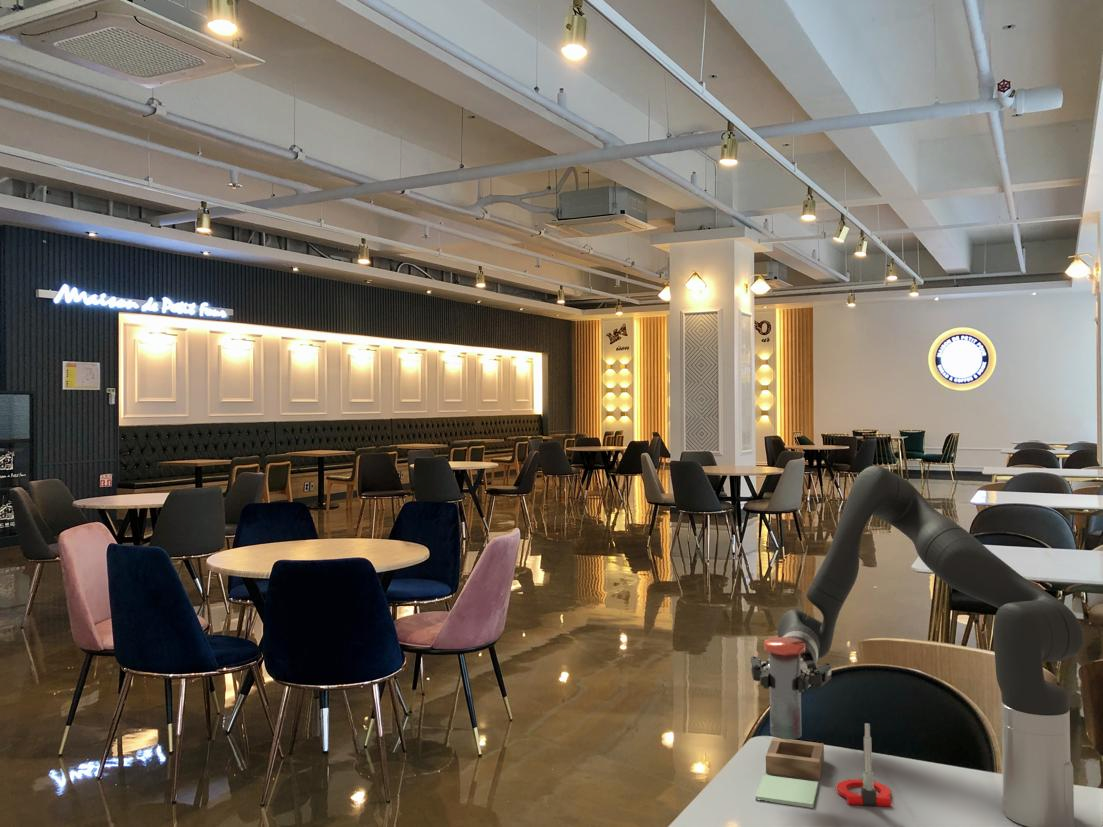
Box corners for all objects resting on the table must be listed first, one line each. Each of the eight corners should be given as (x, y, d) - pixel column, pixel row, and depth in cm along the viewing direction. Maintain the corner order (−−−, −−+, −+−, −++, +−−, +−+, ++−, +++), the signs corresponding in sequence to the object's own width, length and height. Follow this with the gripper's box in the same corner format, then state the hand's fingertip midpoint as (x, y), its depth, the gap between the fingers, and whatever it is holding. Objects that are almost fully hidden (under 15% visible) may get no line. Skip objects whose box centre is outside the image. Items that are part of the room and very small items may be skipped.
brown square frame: (824, 760, 161) (823, 743, 161) (819, 779, 153) (819, 762, 153) (773, 754, 165) (772, 737, 165) (765, 772, 156) (765, 755, 156)
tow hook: (833, 784, 152) (842, 806, 143) (831, 707, 153) (840, 724, 143) (884, 787, 151) (897, 809, 142) (883, 709, 151) (895, 726, 142)
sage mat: (818, 785, 151) (818, 782, 151) (812, 808, 142) (812, 804, 142) (763, 778, 154) (763, 774, 154) (755, 799, 146) (755, 796, 146)
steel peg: (808, 729, 150) (807, 638, 150) (804, 743, 144) (803, 649, 144) (768, 724, 153) (767, 635, 152) (762, 738, 146) (761, 646, 146)
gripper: (754, 632, 164) (738, 657, 148) (836, 638, 159) (828, 665, 143) (755, 673, 164) (739, 702, 148) (837, 680, 159) (829, 712, 143)
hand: (783, 684), depth 146 cm, fingers closed on steel peg, 5 cm apart
